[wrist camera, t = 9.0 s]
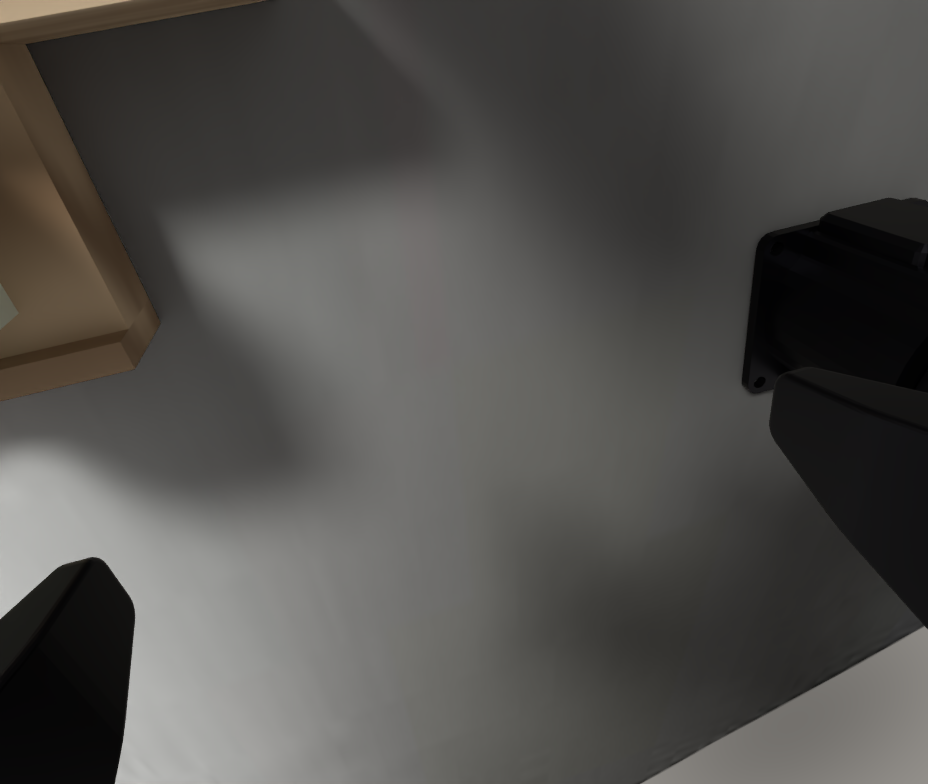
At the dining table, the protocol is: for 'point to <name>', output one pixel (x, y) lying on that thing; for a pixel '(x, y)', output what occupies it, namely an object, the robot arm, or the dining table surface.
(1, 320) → the block
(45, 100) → the light brown t-shaped piece
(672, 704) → the dining table surface
